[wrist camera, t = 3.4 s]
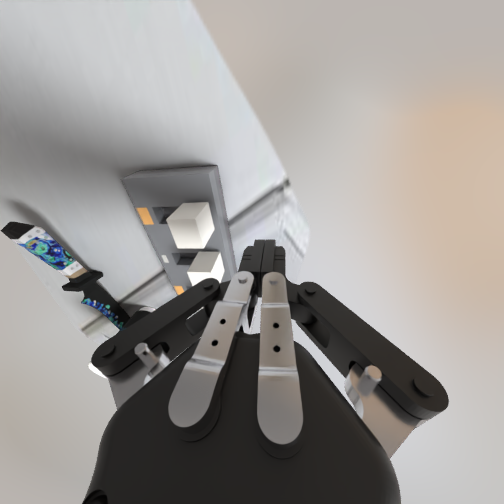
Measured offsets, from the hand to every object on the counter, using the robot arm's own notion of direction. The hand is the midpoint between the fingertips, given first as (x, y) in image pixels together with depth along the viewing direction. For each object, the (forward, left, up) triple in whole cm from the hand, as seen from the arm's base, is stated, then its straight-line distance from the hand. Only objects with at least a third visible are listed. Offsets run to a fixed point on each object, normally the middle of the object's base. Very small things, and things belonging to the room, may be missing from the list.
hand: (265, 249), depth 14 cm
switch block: (+6, -10, -9) cm, 14 cm away
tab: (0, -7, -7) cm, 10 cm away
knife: (+15, -31, -9) cm, 35 cm away
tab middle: (+6, -7, -7) cm, 11 cm away
